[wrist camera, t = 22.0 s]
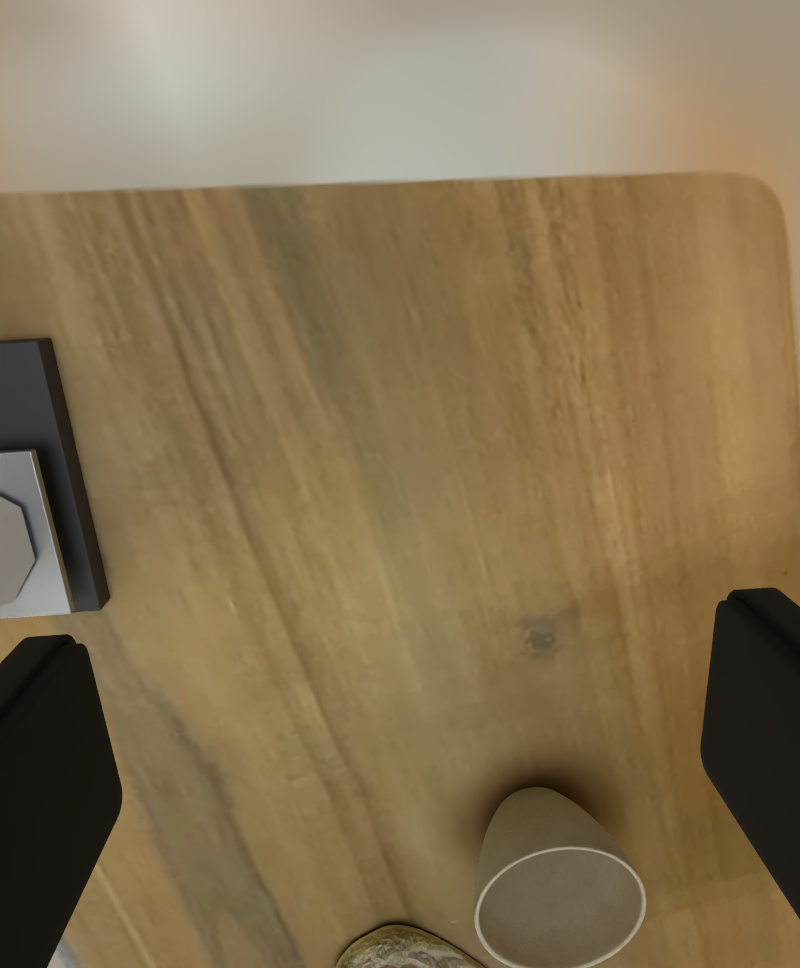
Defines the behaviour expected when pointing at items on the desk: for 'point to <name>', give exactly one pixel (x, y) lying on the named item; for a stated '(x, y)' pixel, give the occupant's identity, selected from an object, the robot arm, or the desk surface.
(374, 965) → the ceramic model
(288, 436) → the desk surface
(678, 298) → the desk surface
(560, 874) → the bowl
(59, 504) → the scale
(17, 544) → the flask
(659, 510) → the desk surface
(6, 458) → the pan
